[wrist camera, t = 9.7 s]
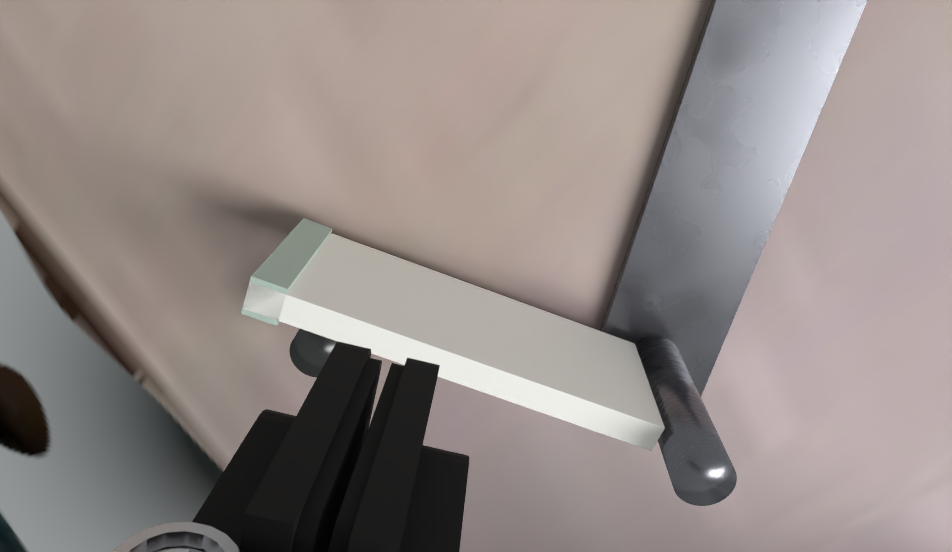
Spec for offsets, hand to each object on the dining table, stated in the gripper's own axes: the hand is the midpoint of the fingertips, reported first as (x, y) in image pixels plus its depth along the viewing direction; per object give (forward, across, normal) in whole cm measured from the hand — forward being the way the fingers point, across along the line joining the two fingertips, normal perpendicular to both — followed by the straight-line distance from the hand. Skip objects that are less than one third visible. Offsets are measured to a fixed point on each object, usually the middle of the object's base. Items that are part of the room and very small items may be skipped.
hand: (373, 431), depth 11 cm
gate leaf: (+17, -1, +5) cm, 17 cm away
